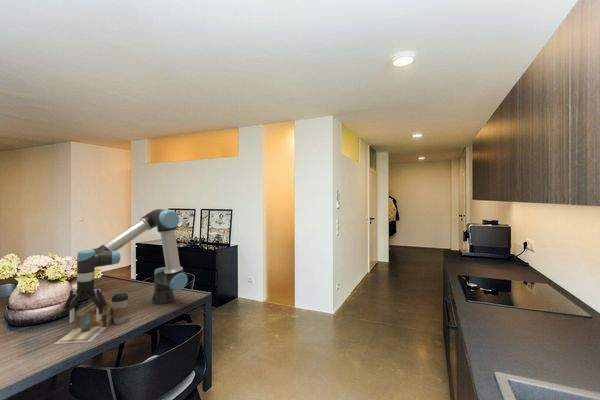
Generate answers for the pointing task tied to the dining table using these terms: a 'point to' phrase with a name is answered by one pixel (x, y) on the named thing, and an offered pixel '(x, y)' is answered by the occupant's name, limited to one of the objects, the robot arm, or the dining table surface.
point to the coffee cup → (119, 308)
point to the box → (92, 310)
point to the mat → (82, 341)
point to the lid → (82, 331)
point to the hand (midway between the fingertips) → (85, 321)
